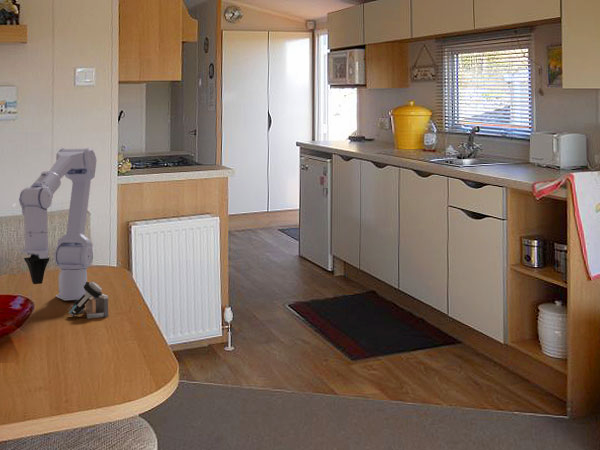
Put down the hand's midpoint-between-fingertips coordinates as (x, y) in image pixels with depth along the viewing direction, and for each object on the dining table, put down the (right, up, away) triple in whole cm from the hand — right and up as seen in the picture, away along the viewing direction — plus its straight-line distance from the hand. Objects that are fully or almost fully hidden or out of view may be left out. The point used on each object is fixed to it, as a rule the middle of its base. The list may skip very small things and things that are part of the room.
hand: (37, 283), depth 189 cm
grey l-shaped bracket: (+13, -9, +6) cm, 17 cm away
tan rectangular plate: (+13, -9, +5) cm, 16 cm away
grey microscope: (+8, -9, +2) cm, 12 cm away
